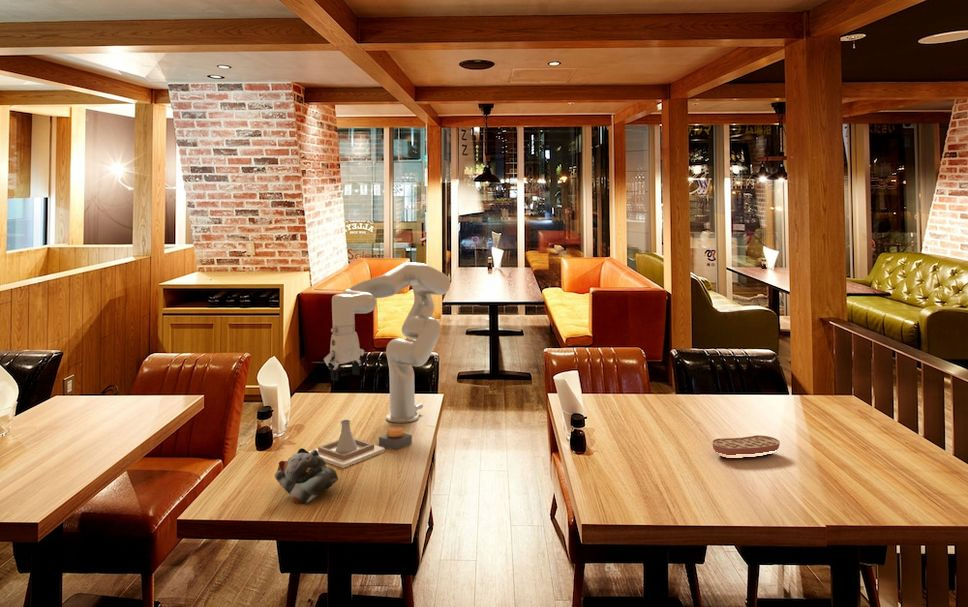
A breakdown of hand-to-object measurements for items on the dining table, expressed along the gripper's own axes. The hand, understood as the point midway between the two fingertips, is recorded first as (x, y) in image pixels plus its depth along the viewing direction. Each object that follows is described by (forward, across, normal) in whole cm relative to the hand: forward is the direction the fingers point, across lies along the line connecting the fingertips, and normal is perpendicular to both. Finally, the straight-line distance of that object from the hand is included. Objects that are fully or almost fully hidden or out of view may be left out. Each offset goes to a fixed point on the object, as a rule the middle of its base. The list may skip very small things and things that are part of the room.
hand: (345, 377), depth 225 cm
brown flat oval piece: (+23, +68, -118) cm, 138 cm away
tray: (+22, -10, -11) cm, 27 cm away
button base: (+22, +6, -18) cm, 29 cm away
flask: (+21, -10, -11) cm, 26 cm away
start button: (+21, +6, -18) cm, 29 cm away
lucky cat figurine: (+23, -38, -27) cm, 51 cm away
